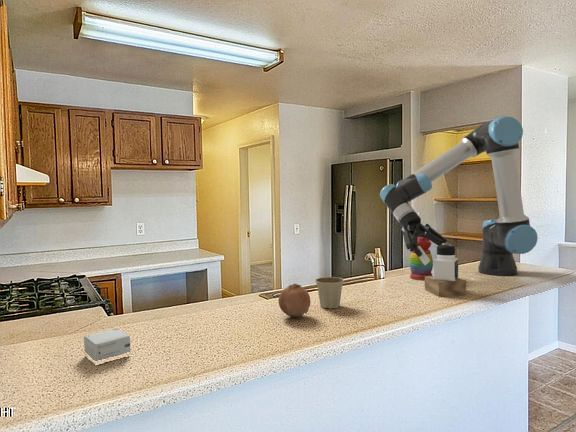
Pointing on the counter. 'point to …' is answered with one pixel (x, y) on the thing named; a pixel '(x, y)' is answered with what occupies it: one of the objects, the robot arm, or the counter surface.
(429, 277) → the walnut block
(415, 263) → the stacking bear
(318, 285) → the flower pot
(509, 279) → the counter surface
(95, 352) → the small box
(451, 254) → the medicine bottle
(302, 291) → the onion
